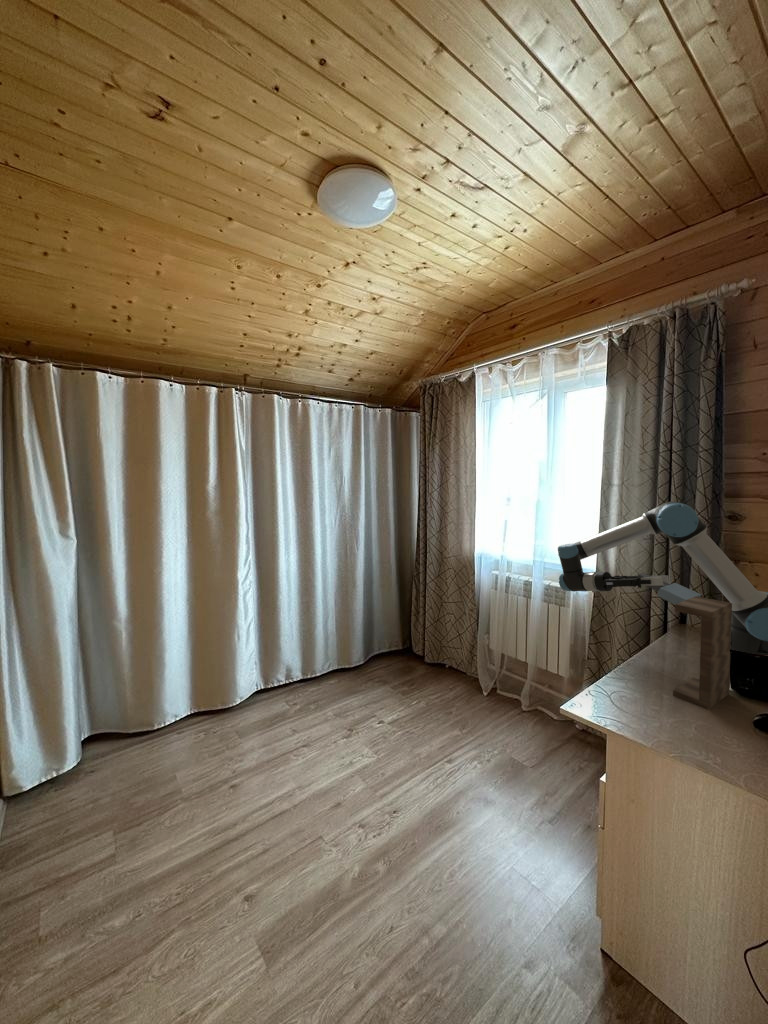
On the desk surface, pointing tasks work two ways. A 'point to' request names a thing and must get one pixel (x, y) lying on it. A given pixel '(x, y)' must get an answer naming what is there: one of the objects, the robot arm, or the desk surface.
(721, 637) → the shelf stand
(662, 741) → the desk surface
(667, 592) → the grey toy mallet
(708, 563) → the robot arm
